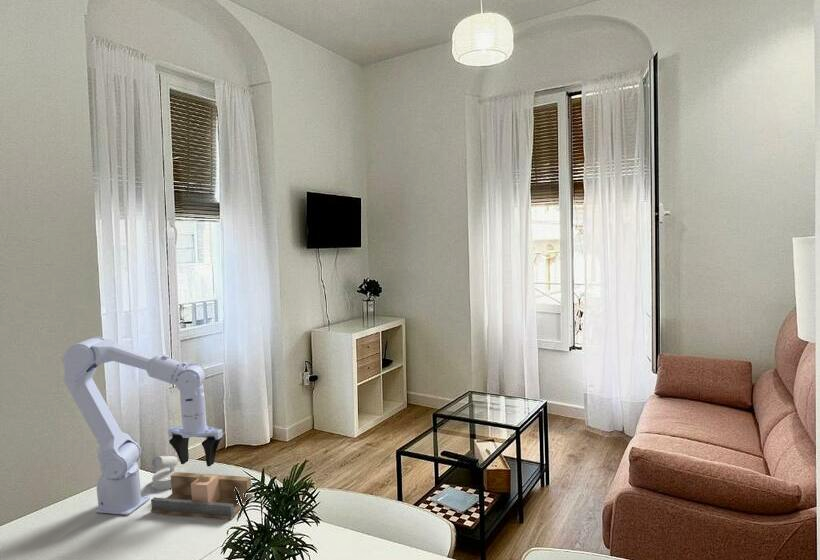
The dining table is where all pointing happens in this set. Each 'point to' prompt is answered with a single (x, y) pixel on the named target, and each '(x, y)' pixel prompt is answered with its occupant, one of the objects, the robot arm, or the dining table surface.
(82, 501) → the dining table surface
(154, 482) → the wall hook
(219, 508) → the lip
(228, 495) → the wall board
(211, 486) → the cabinet block
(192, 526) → the dining table surface
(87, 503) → the dining table surface
